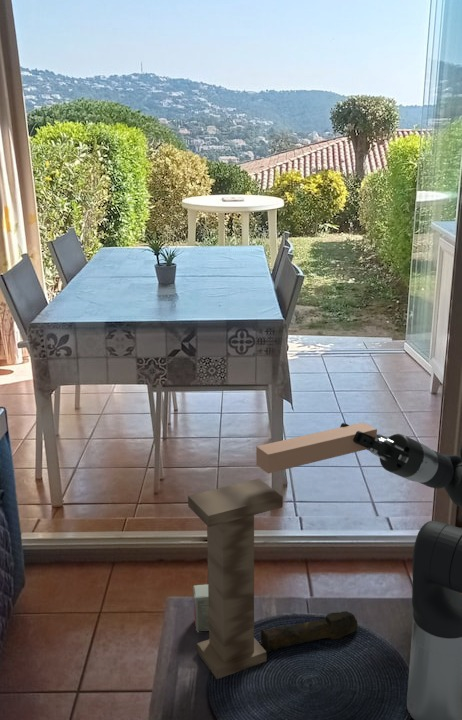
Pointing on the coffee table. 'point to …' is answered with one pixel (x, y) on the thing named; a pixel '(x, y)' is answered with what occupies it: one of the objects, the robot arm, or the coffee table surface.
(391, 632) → the coffee table surface
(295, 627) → the hand tool
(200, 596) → the small box
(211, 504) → the stand
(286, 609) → the coffee table surface
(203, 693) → the coffee table surface
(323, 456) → the bar
